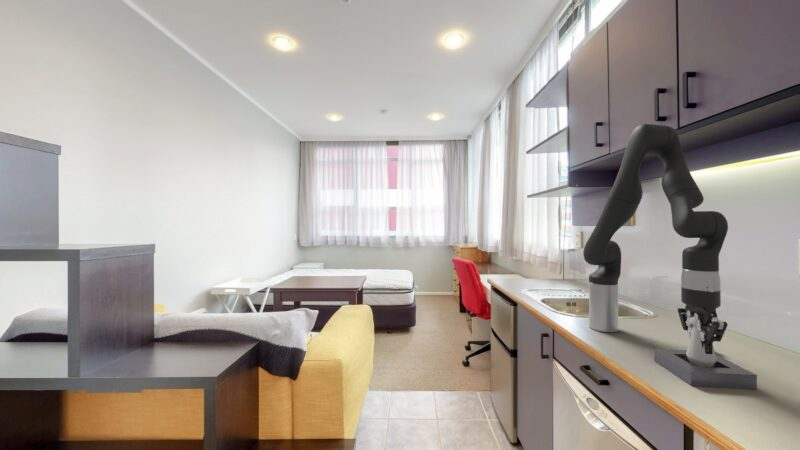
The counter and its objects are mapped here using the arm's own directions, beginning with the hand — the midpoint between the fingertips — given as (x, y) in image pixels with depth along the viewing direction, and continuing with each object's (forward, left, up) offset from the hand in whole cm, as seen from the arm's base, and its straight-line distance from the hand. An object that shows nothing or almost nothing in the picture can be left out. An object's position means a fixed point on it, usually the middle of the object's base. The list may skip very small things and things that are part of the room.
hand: (700, 351), depth 83 cm
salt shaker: (0, 0, -4) cm, 4 cm away
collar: (0, 0, -6) cm, 6 cm away
